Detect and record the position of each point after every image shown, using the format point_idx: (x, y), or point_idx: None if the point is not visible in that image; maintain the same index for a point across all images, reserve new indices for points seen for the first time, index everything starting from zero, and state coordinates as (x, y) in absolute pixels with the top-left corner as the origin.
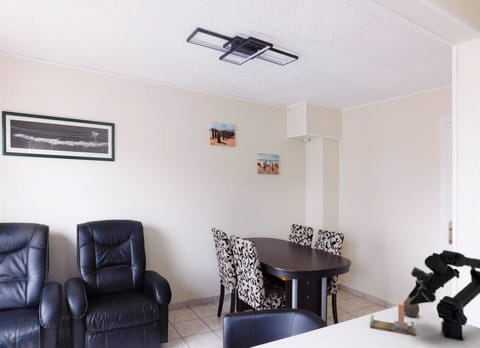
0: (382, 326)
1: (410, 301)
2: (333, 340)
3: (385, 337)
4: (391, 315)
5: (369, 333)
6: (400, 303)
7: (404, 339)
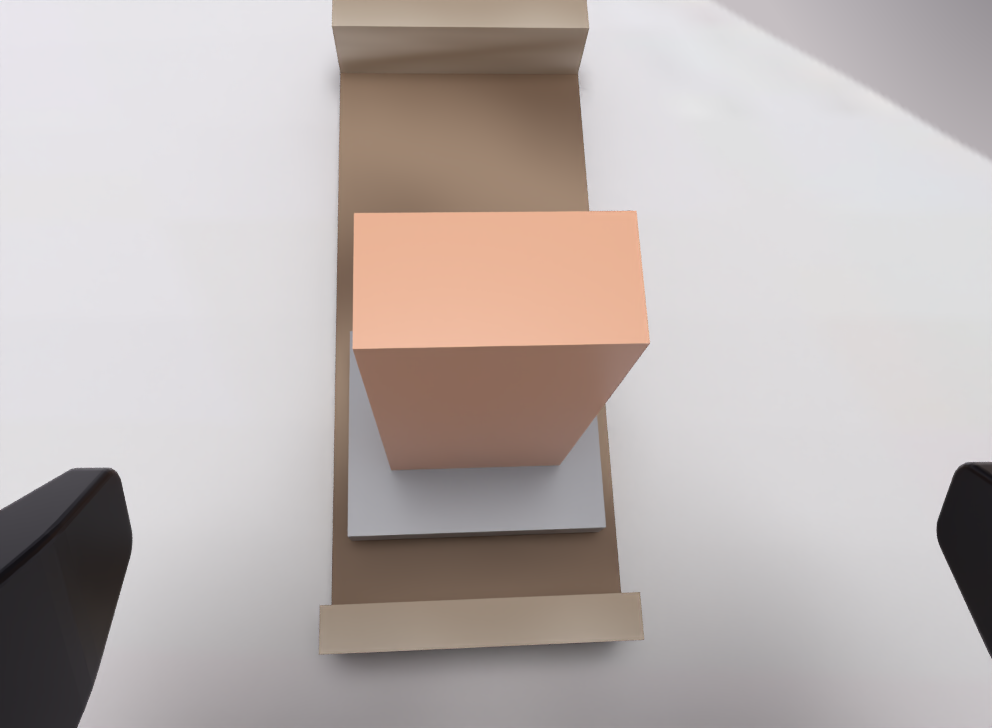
0: (381, 185)
1: (24, 499)
2: None
3: (103, 242)
4: (978, 315)
5: (157, 59)
6: (460, 262)
7: (131, 487)
